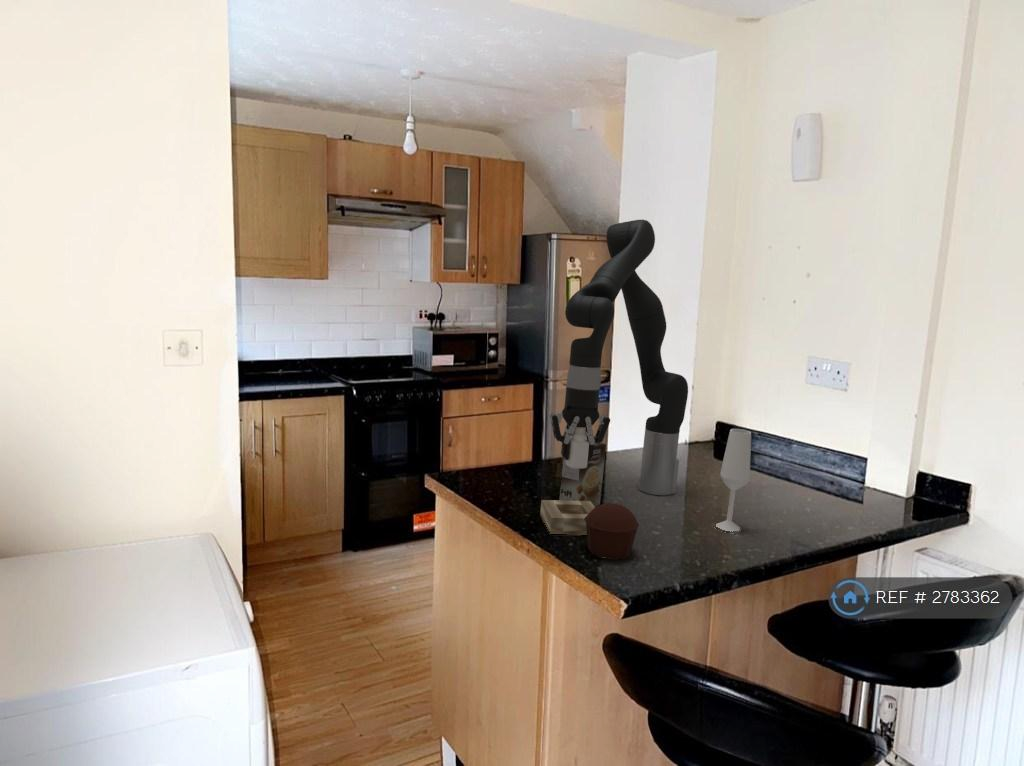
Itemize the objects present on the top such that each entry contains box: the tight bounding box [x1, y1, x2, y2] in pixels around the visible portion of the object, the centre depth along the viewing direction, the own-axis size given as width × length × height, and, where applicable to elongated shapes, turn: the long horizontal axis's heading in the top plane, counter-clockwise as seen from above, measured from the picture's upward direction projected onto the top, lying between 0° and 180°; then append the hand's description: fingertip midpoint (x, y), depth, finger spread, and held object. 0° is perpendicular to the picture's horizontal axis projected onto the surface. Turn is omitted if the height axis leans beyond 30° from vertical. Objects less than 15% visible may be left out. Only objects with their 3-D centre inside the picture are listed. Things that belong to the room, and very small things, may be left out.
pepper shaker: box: [565, 427, 589, 469], centre depth 158 cm, size 4×4×10 cm
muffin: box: [584, 502, 640, 560], centre depth 147 cm, size 12×11×10 cm
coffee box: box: [558, 442, 607, 507], centre depth 176 cm, size 9×6×16 cm
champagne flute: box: [715, 428, 752, 532], centre depth 166 cm, size 7×7×24 cm
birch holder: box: [539, 499, 596, 536], centre depth 161 cm, size 12×12×4 cm
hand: (576, 459), depth 159 cm, fingers closed on pepper shaker, 4 cm apart
